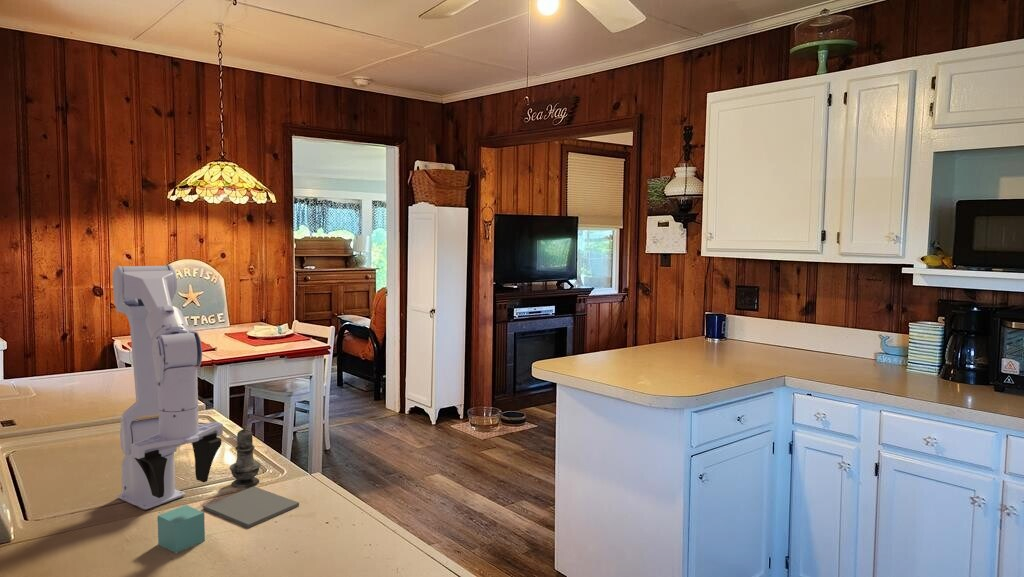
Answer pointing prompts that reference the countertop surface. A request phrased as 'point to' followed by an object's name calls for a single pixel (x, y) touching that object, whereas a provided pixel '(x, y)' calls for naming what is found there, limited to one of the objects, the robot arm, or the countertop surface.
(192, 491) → the countertop surface
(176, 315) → the robot arm
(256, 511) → the charcoal mat
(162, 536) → the teal cube
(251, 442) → the dark grey chess piece
